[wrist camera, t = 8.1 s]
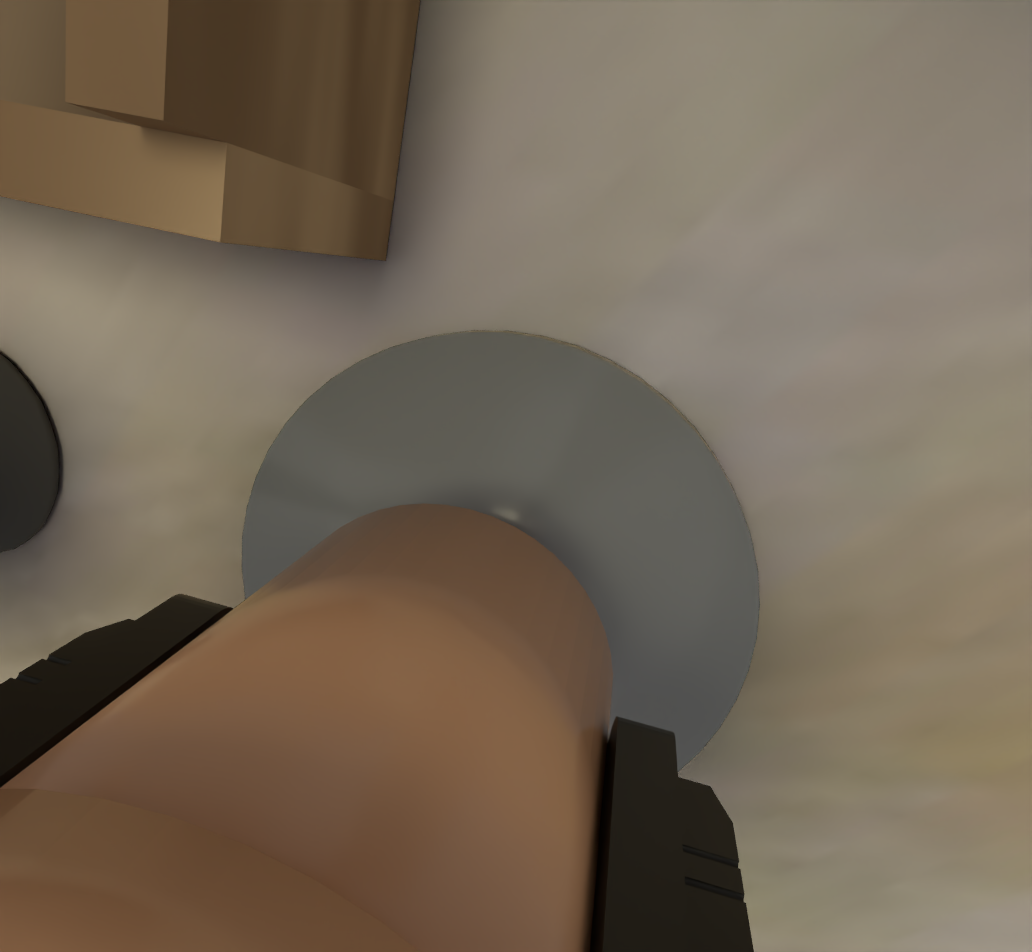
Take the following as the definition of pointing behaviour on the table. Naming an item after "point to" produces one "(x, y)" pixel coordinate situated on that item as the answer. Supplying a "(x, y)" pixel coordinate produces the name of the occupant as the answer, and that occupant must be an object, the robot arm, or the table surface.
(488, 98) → the table surface
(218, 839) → the clay pot
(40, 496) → the sundae
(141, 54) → the box
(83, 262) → the table surface
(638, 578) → the slate saucer
